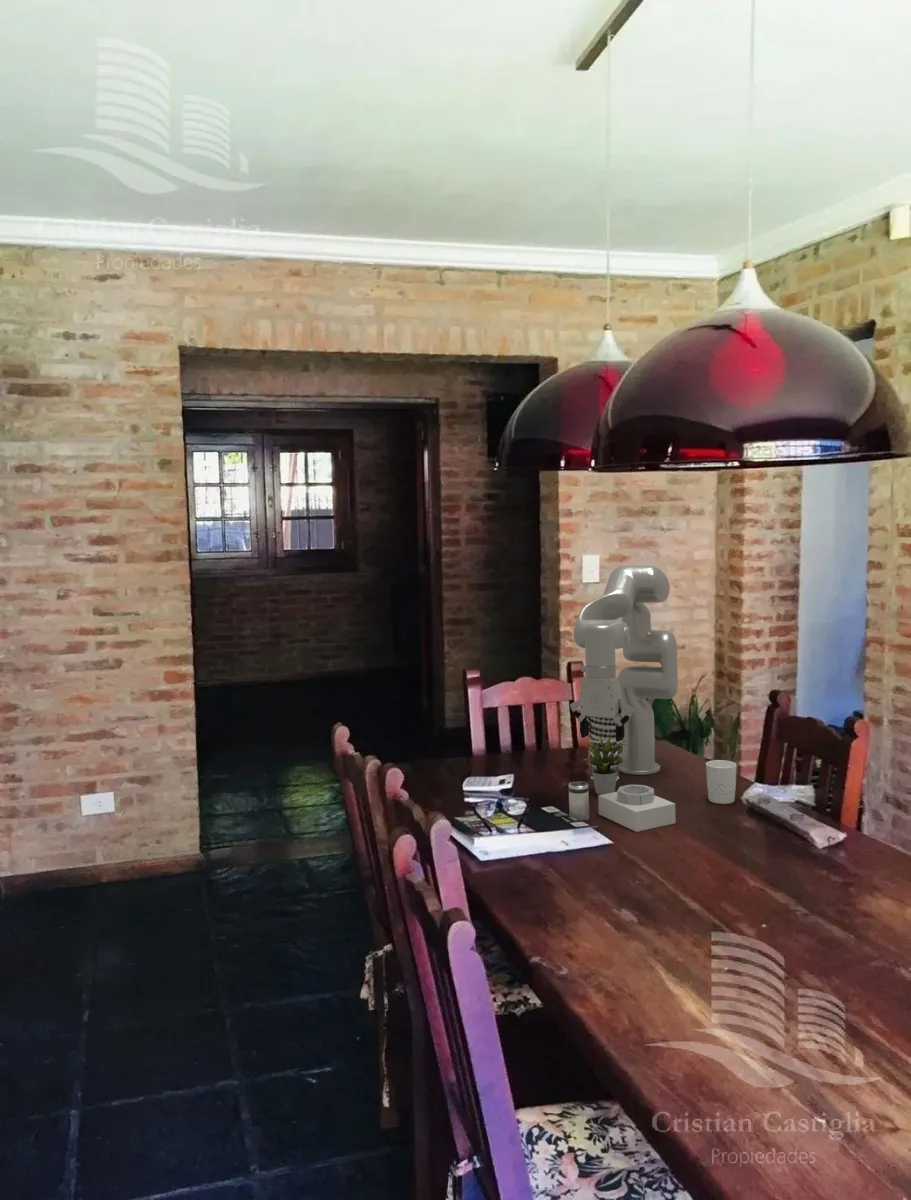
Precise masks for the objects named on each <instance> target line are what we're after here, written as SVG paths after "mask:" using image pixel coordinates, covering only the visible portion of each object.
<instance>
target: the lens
mask: <svg viewBox="0 0 911 1200" xmlns="http://www.w3.org/2000/svg"><path fill="white" fill-rule="evenodd" d="M589 793H590V792H589V782H586V781H580V780H579V781H577V780H576V781H571V782H569V783H568V805H569V806H568V808H569V810H568V811H569V814H568V815H569V817H570V816H571V817H574V818H576V819H580V820H587V821H588V819H589V820H590V803H589V802H590V800H589V799H590V798H589V797H590V795H589Z"/></svg>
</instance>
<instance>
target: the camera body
mask: <svg viewBox="0 0 911 1200" xmlns="http://www.w3.org/2000/svg"><path fill="white" fill-rule="evenodd" d="M597 795H598V794H597ZM597 797H598V815H599V816H602V817H603V818H606V819H608V820H610V821H613V822H615V823H617V824H619V825H621V826H623V827H625V828H627V829H629V830H631V831H633V832H642V831H647V830H651V829H655V828H656V829H657V828H660V827H665V826H669V825H672V824H676V820H677V819H676V803H675V802H672V801H670V800H667V799H665V798H663V797H660V796H657V795H655V788H653V787H650V786H648V785H645V784H644V785H643V784H626V785H622V786H619V787H618V789H617V791H615V792H613V793H608V794H603V795H598V796H597Z"/></svg>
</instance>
